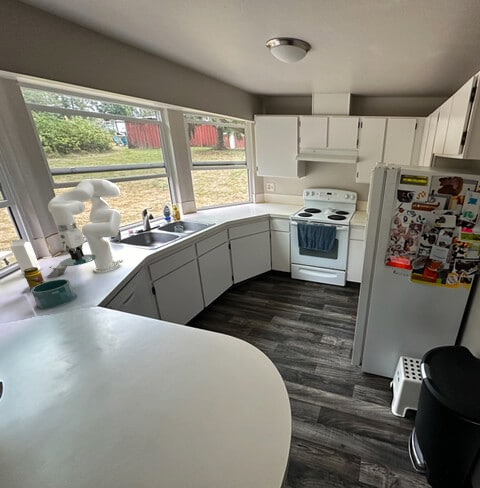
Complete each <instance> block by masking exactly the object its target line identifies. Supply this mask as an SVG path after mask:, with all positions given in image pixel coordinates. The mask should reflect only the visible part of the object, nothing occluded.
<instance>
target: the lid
mask: <svg viewBox="0 0 480 488" xmlns="http://www.w3.org/2000/svg"><path fill="white" fill-rule="evenodd" d="M75 251H76V253H77V254H78V257H79V259H78V260H72V258H71V257H68V258H65V259H63V260H61V261H62V262H61V261H60V262H61V265H62V266H67V267H74V266H81V265H85V264H88V263H90V262H94V259H96V256H95V255H92V253H91V254H88V253H87V254H84V257H82V256H81V253H80V250H76V249H75Z"/></svg>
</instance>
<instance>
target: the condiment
mask: <svg viewBox="0 0 480 488" xmlns="http://www.w3.org/2000/svg"><path fill="white" fill-rule="evenodd" d="M24 273H25V274H24V278H25V280H26V283H27V285H28V286H27V288H29V289H30V290H31V289H32V288H33V287H35V286H37V285H39V284H42V283H44V282H46V281H45V279H44V277H43V274H42V272H41V271H40V270H38V268H37V267H32V268H28V269H25V270H24ZM23 293H26V290H24V291H23ZM23 293H22V294H23Z"/></svg>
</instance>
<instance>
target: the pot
mask: <svg viewBox="0 0 480 488" xmlns="http://www.w3.org/2000/svg"><path fill="white" fill-rule="evenodd" d="M30 292H31V295H32V297H33V299H34V301H35V303H36V306H37V307H38V308H40V309H50V308H55V307H58V306H61V305H64V304H67V303H69V302H70V301H72V300H73V299H74V298H75V297H76V294H75V292H74V289H73V287H72V284H71V281H70V280H69V279H67V278H59V279H51V280H46V281H45V282H44V283H42V284H39V285H37V286H35V287H33V288H32V289H30Z"/></svg>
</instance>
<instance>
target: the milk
mask: <svg viewBox="0 0 480 488" xmlns="http://www.w3.org/2000/svg"><path fill="white" fill-rule="evenodd" d="M10 248H11V251H12V253H13V255H14V258H15V260H16V262H17V265H18V266H19V269H20V271H21V274H22V275H25V273H24V270H25V269H28V268H32V267H37V268H38V270H39V271H40V270H41V266H40V264H39V261H38V258H37V255H36V254H35V252H34V249H33V246H32V244H31V241H27V240H26V239H25V238H21V239H20V238H19V239H11V245H10Z"/></svg>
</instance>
